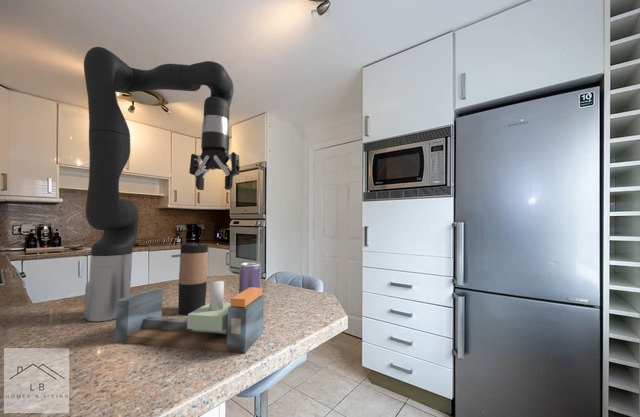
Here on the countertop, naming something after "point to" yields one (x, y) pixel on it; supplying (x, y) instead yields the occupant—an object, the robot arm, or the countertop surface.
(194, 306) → the travel mug
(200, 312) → the carriage
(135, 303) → the rail base
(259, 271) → the beverage can
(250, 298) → the orange rectangular bar
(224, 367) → the countertop surface
